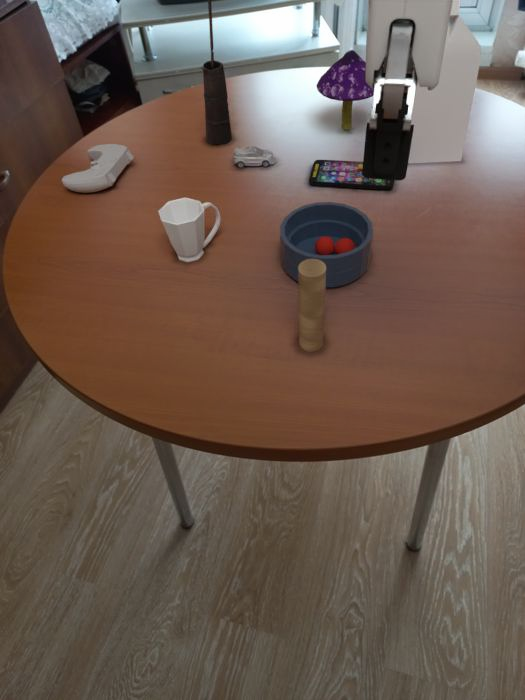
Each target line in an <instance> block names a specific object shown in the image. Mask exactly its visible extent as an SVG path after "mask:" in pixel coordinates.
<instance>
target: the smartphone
mask: <svg viewBox="0 0 525 700" xmlns="http://www.w3.org/2000/svg"><path fill="white" fill-rule="evenodd" d="M362 169H363V161H355V160H353V161H352V160H336V159H334V160H333V159H316V160H314V161H313V164H312V167H311V170H310V174H309V177H308V184H310V185H311V186H318V187H319V186H320V187H334V188H350V189H366V190H382V191H390V190H393V188H394V186H395V180H387V179H372V178H365V177H363V175H362Z"/></svg>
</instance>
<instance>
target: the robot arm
mask: <svg viewBox="0 0 525 700" xmlns="http://www.w3.org/2000/svg"><path fill="white" fill-rule="evenodd" d="M452 3H453V0H367V13H366V14H367V16H366V39H365V40H366V41H365V62H366V83H367V84H368V85H369V86H370V87H371V88H374V92H373V96H372V101H371V108H370V117H369V122H367V123H366V128H365V137H364V138H365V139H364V149H363V157H362V158H363V160H362V162H363V169H362V175H363V177H365V178H372V179H387V180H394V181H404V180H405V179H406V176H407V172H408V166H409V164H408V160H409V154H410V148H411V142H412V136H413V130H414V125H411V120H412V113H413V107H414V101H415V94H416V89H417V84H418V82H419V86H420V87H428V90H433V89H434V88H435V87H436V86H437V85H438V84H439V78H440V72H441V65H442V59H443V54H444V48H445V42H446V36H447V31H448V25H449V19H450V14H451V8H452Z"/></svg>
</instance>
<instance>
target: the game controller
mask: <svg viewBox="0 0 525 700" xmlns="http://www.w3.org/2000/svg"><path fill="white" fill-rule="evenodd" d="M86 153H87V155H88V157H89V158H90V159H92V161H91V162H90V168H88V169H86V170H83V171H77V172H73V173H69V174H66V175H63V177H62V179H61V182H62V185H63V186H64V187H65V188H66V189H67V190H70V191H73V192H76V193H84V194H85V193H87V194H88V193H96V192H100V191H104V190H106V189H108V188H110V187H112V186H113V185H114V184H115V182H116V180H117V179H118V177H119V176H120V174H122V172H123V170H124V169H125V168H126V166H127V165H130V164H131V162H132V161H133V160H134V159H135V158H134V157H135V156H134V155H133V154H132V153H131V152H130V150H129V148H128V147H127V146H126V145H123V144H117V143H105V144H97V145H94V146H92V147H90V148H89V149H88V150H87V151H86Z"/></svg>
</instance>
